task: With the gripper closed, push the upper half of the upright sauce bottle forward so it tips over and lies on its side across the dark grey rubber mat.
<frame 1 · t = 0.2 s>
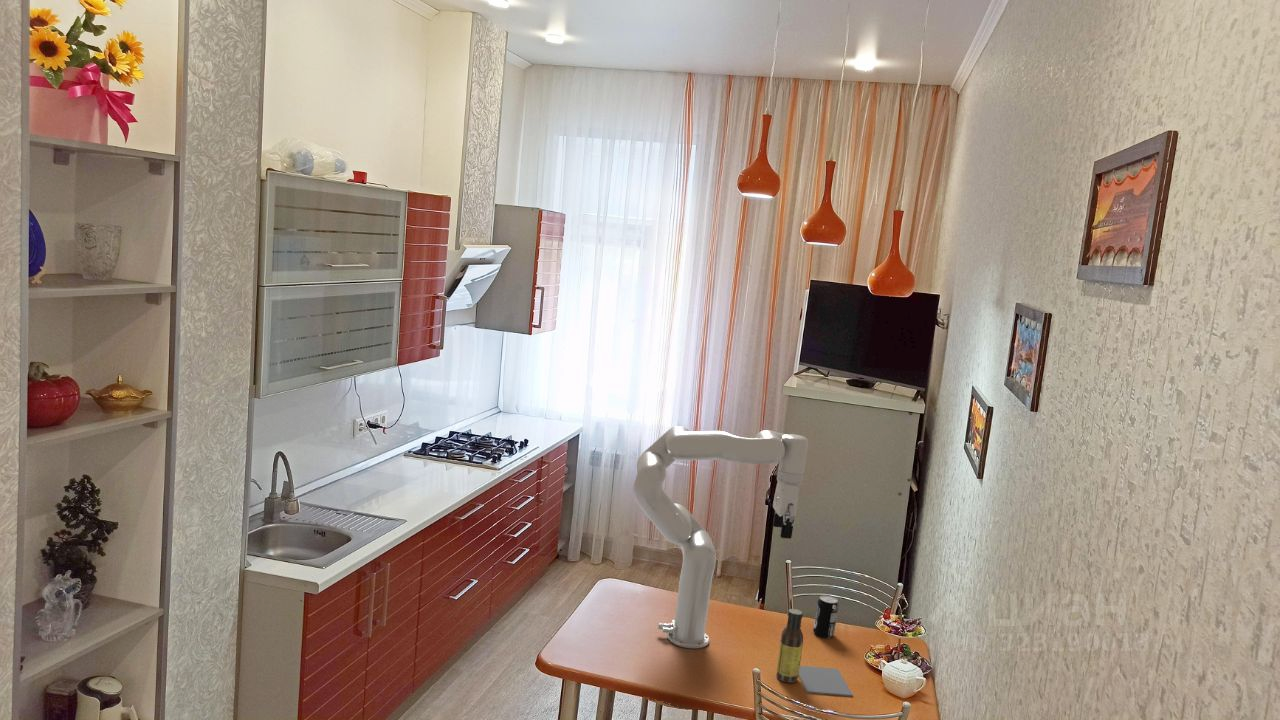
hand: (781, 532, 274), 36 cm above the table, tool pointing down, fingers open, 9 cm apart
sauce bottle: (786, 679, 261), on the table
mat: (822, 681, 261), on the table
beverage can: (823, 635, 293), on the table
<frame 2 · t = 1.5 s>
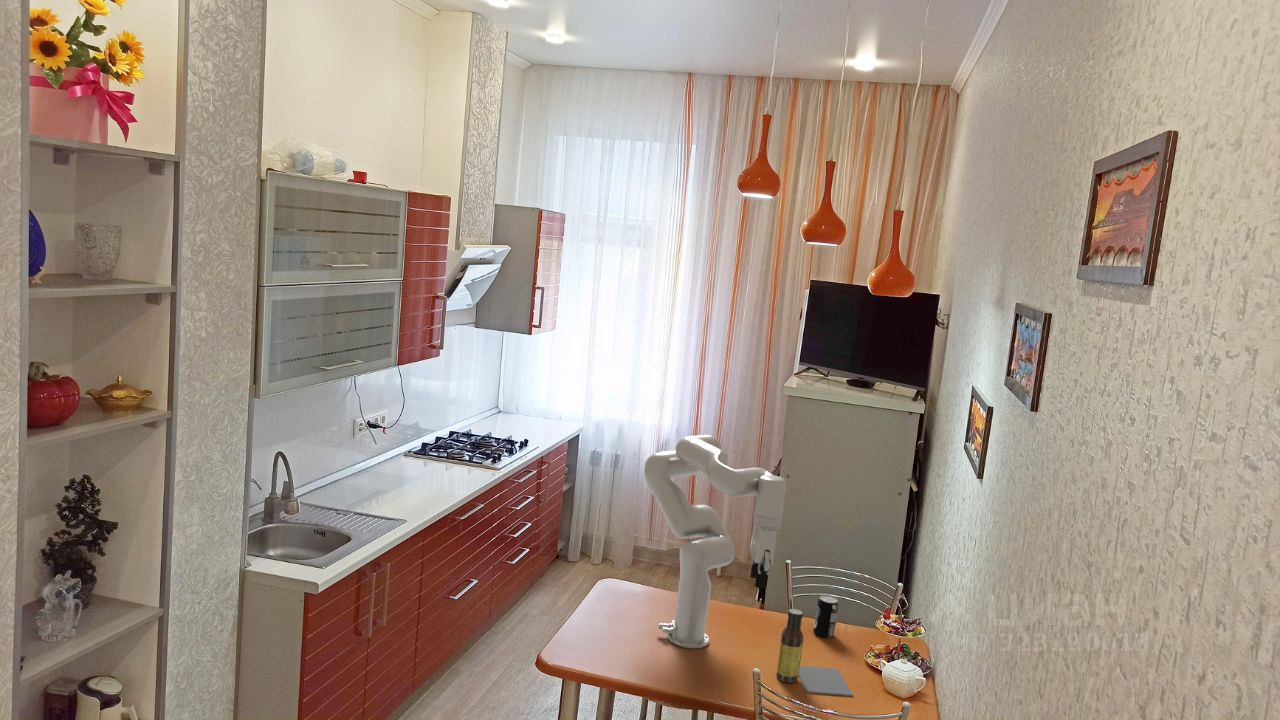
hand: (758, 582, 256), 28 cm above the table, tool pointing down, fingers open, 5 cm apart
nothing on the table moved.
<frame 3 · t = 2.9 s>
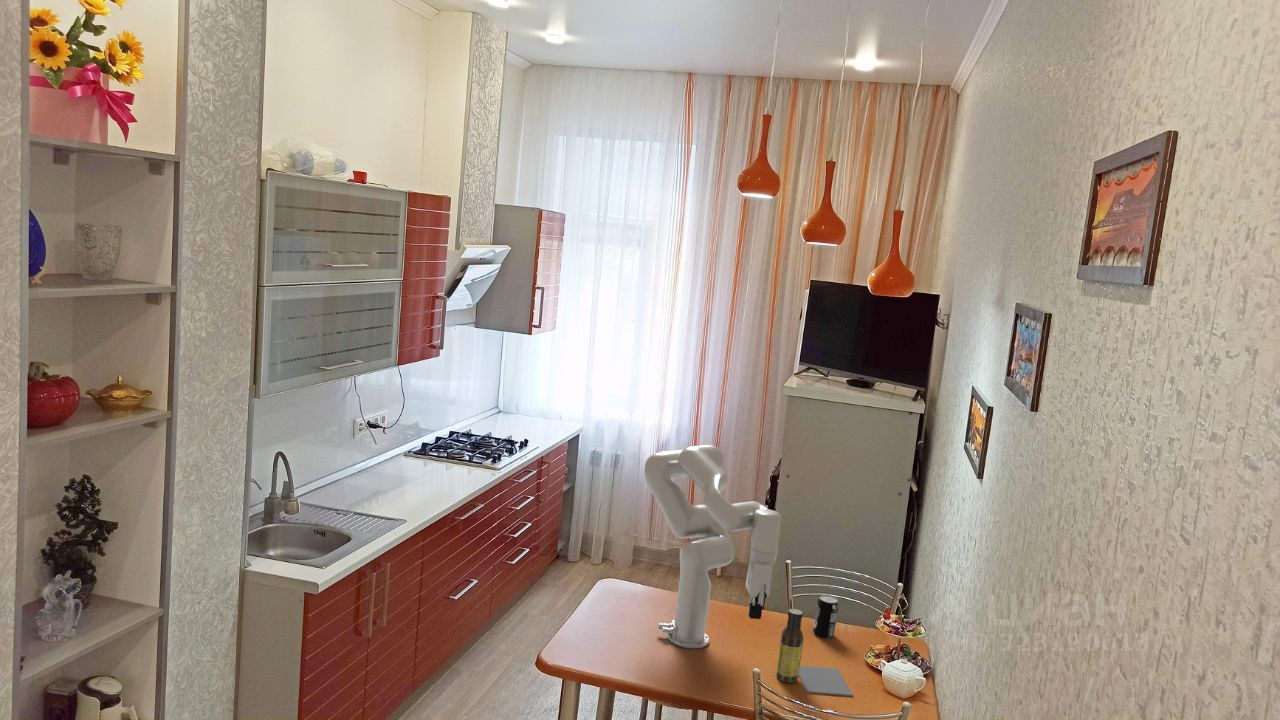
hand: (754, 617, 257), 17 cm above the table, tool pointing down, fingers closed
nothing on the table moved.
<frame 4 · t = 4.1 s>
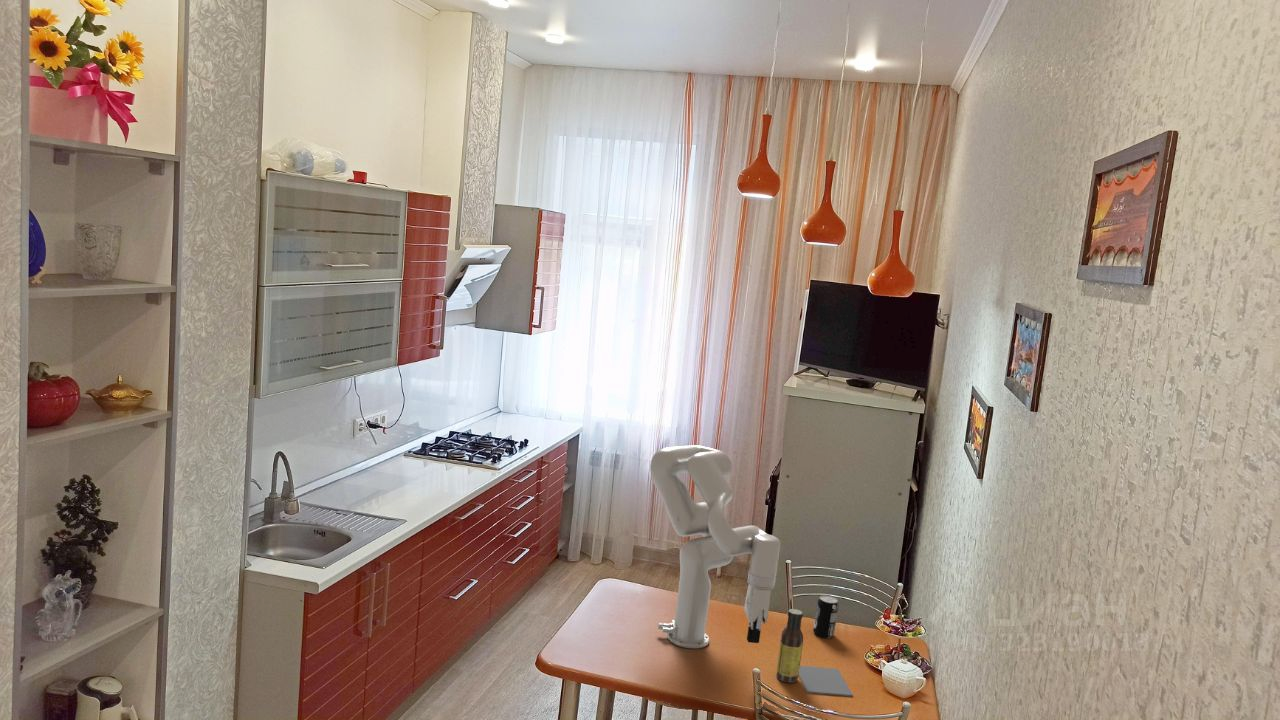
hand: (752, 641, 258), 10 cm above the table, tool pointing down, fingers closed
nothing on the table moved.
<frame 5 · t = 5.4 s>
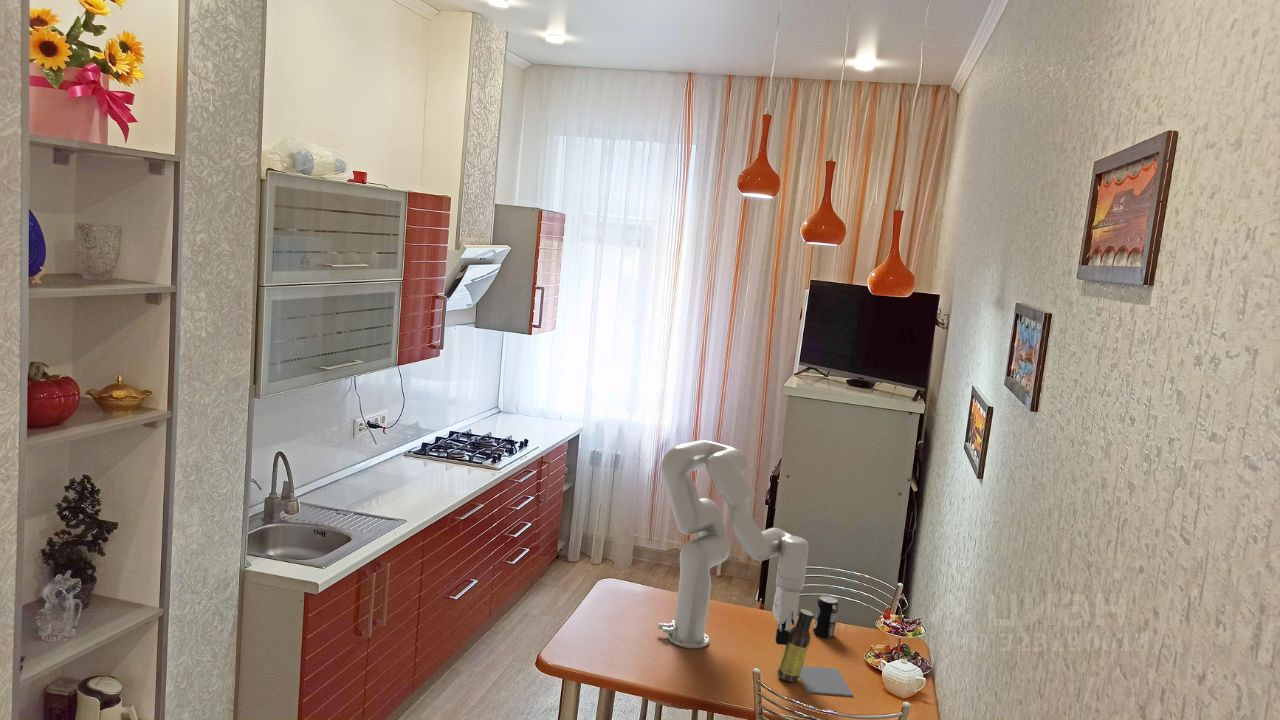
hand: (781, 643, 259), 10 cm above the table, tool pointing down, fingers closed
sauce bottle: (786, 677, 260), on the table, touching gripper
everything else where it was.
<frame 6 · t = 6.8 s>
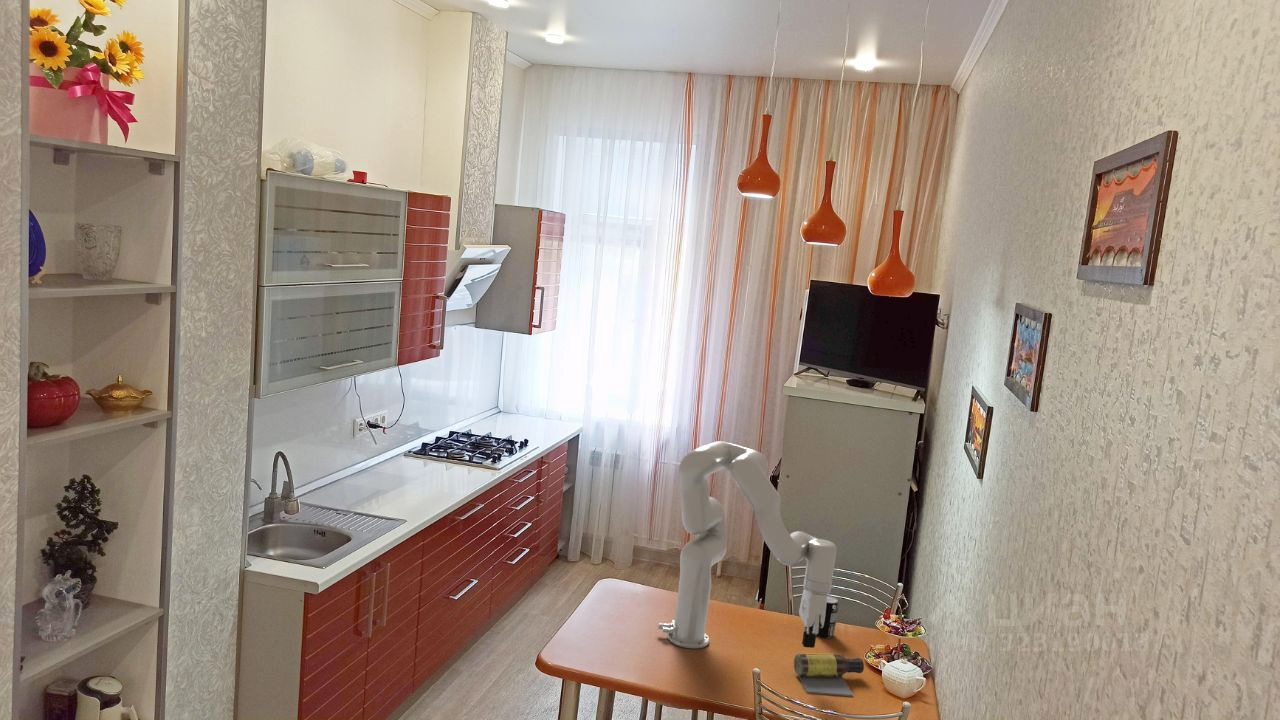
hand: (808, 645, 259), 10 cm above the table, tool pointing down, fingers closed
sauce bottle: (796, 664, 262), point 4 cm above the table, touching mat
everything else where it was.
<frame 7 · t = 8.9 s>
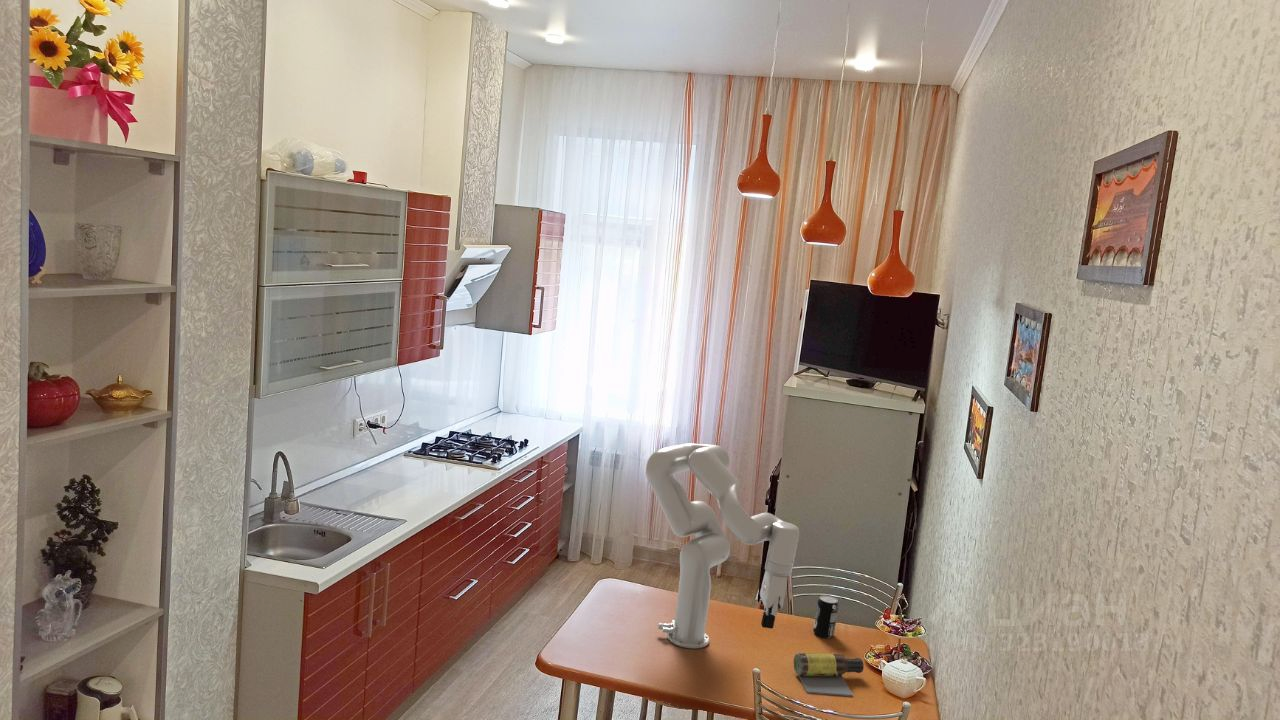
hand: (766, 626, 261), 13 cm above the table, tool pointing down, fingers closed
nothing on the table moved.
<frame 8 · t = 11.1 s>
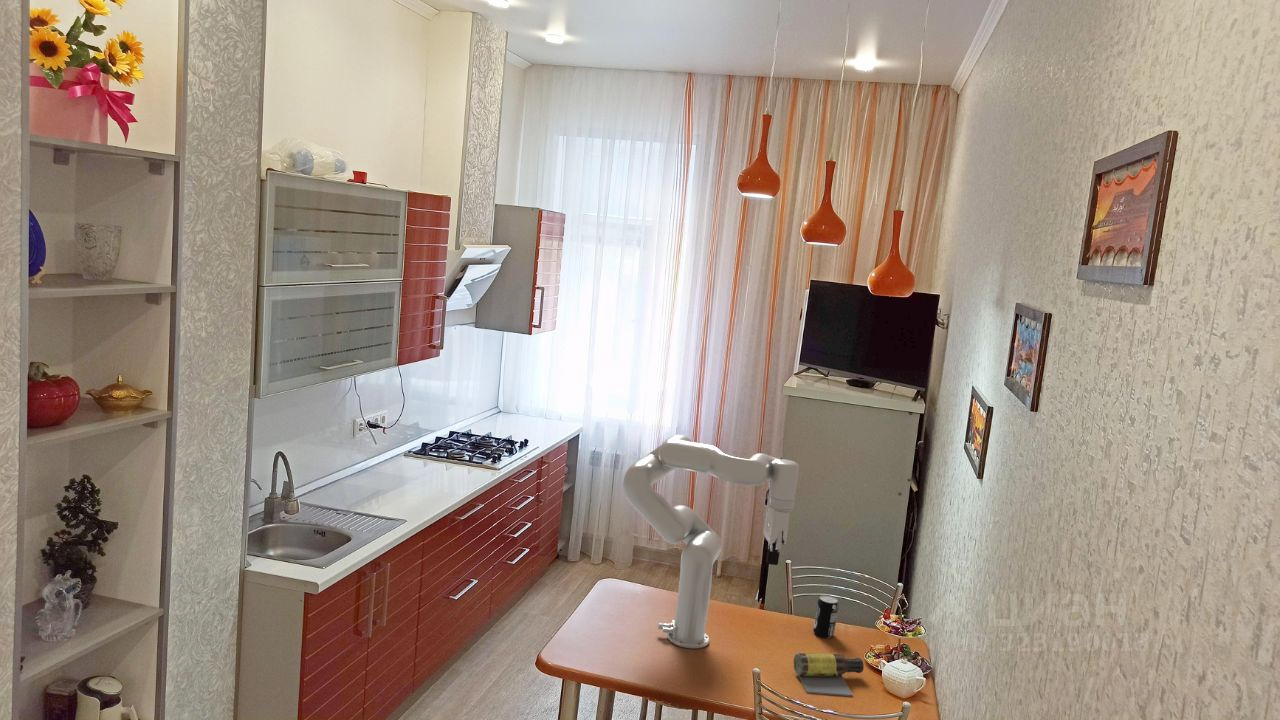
hand: (771, 563, 267), 29 cm above the table, tool pointing down, fingers closed
nothing on the table moved.
at the end: sauce bottle tilted 91°; sauce bottle touching mat; sauce bottle inside the target area (2.9 cm from its centre), point 3.7 cm above the table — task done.
